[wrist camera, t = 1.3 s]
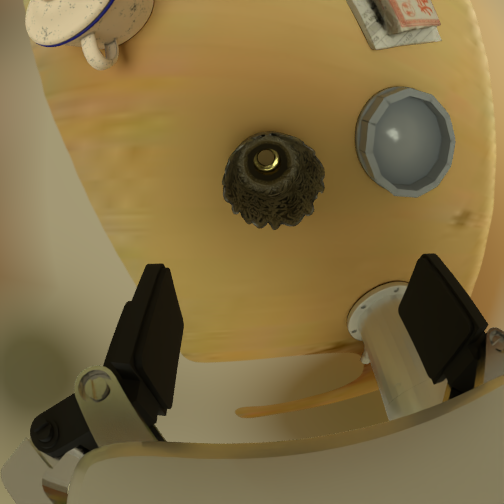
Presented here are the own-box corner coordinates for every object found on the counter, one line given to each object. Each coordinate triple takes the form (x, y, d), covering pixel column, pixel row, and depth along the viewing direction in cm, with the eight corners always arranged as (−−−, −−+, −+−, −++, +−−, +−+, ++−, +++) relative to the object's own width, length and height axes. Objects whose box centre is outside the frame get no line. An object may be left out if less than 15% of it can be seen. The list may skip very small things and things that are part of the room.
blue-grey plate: (432, 192, 28) (444, 201, 26) (349, 186, 27) (357, 195, 25) (447, 100, 21) (461, 103, 19) (358, 76, 21) (368, 76, 19)
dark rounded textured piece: (244, 109, 23) (245, 117, 16) (315, 138, 24) (342, 160, 18) (217, 177, 27) (208, 212, 20) (284, 202, 28) (297, 242, 22)
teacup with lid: (72, 4, 13) (3, -11, 4) (149, -35, 12) (101, -82, 3) (91, 89, 20) (15, 103, 10) (172, 52, 19) (122, 31, 9)
